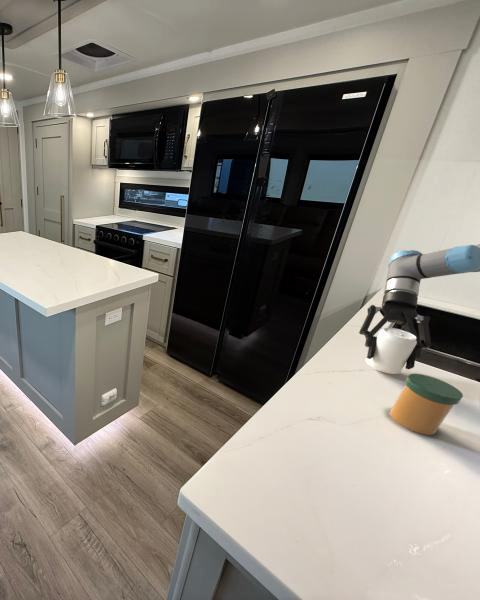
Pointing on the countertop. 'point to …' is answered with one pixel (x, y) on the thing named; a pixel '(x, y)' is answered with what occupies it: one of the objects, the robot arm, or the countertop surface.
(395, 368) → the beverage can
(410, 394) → the jar
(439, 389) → the jar lid
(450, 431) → the countertop surface
